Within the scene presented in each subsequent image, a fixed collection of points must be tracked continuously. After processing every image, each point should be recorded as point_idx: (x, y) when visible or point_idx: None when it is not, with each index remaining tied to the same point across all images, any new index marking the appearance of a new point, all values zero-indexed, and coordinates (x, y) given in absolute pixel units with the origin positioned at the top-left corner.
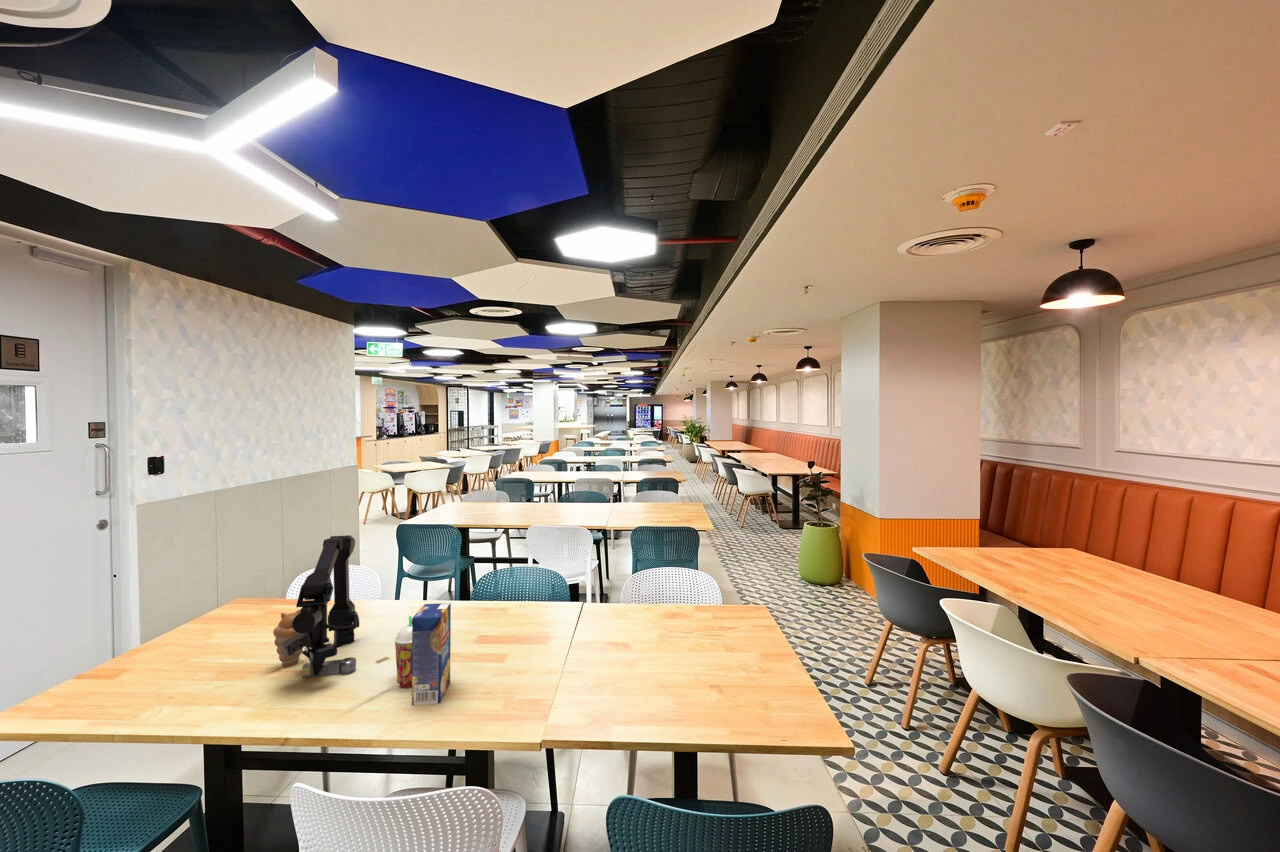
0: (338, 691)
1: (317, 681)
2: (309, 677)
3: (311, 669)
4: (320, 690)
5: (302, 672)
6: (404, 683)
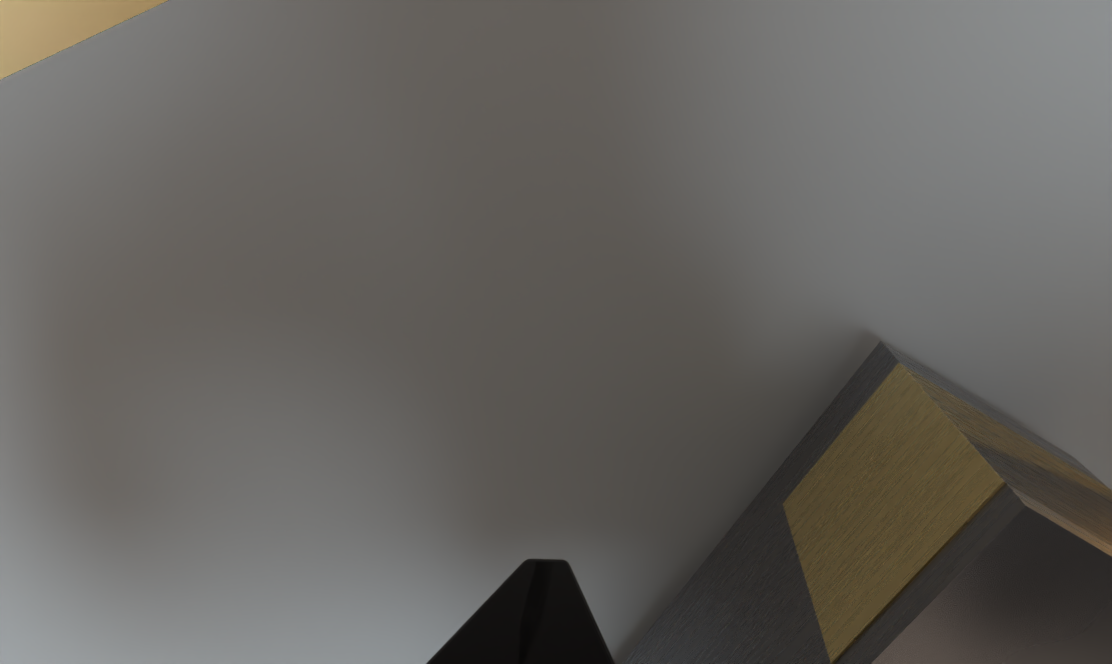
0: None
1: None
2: (779, 471)
3: (778, 637)
4: None
5: (931, 413)
6: None
